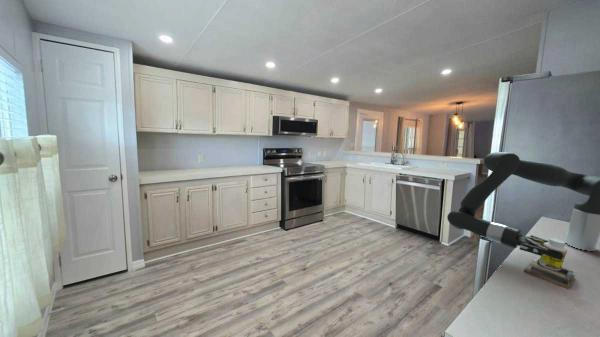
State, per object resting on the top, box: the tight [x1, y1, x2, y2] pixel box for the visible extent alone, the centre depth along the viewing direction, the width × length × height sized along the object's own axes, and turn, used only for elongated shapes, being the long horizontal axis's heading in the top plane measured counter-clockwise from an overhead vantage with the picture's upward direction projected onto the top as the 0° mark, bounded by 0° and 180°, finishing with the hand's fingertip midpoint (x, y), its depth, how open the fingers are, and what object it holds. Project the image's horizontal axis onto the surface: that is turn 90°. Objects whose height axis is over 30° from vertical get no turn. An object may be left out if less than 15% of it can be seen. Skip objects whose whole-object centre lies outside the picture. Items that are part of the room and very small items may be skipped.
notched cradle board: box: [523, 258, 576, 290], centre depth 85 cm, size 12×11×2 cm
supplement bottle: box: [539, 237, 568, 271], centre depth 84 cm, size 6×6×10 cm
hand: (564, 254), depth 82 cm, fingers closed on supplement bottle, 5 cm apart
